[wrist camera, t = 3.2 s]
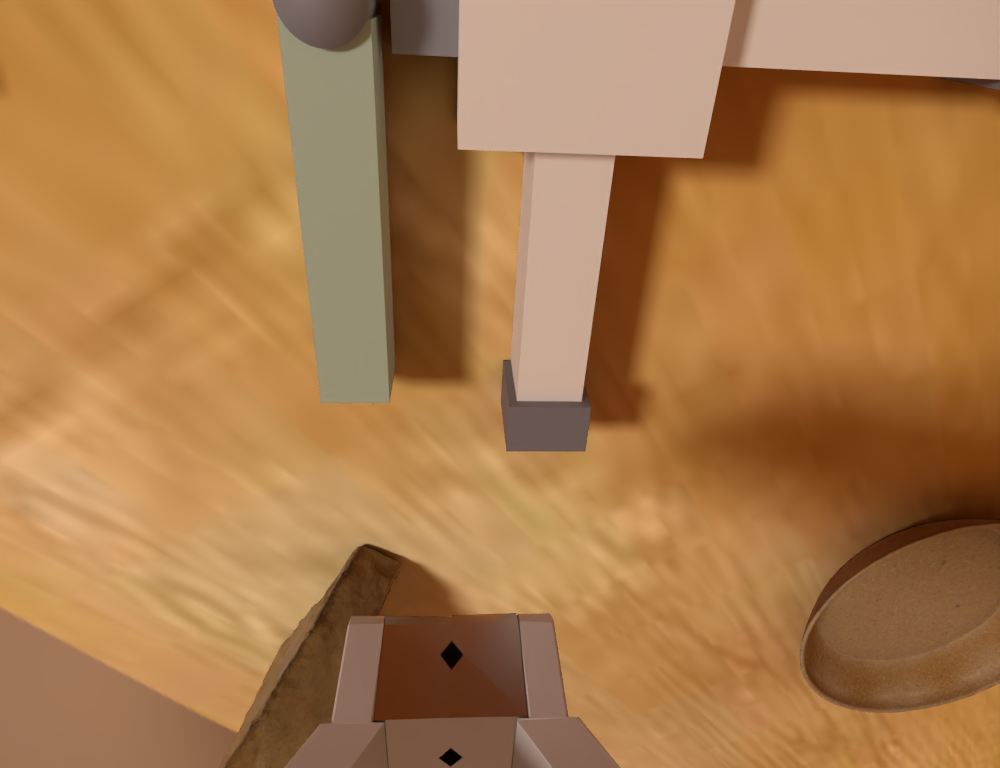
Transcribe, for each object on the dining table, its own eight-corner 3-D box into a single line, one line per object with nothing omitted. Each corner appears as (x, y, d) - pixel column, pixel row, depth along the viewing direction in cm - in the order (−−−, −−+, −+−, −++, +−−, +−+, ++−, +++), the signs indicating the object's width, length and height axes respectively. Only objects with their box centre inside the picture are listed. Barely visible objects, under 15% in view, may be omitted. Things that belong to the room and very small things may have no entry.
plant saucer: (799, 507, 32) (825, 547, 30) (1096, 471, 32) (1143, 508, 30) (765, 685, 40) (783, 727, 38) (1003, 656, 40) (1036, 696, 38)
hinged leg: (292, -59, 18) (264, -66, 16) (378, -54, 19) (365, -60, 16) (334, 362, 26) (319, 407, 23) (395, 362, 26) (388, 407, 23)
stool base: (407, 400, 27) (401, 461, 24) (365, -931, 12) (331, -1294, 8) (863, 403, 29) (918, 461, 25) (1345, -770, 13) (1648, -1024, 10)
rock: (333, 529, 28) (152, 646, 29) (415, 732, 24) (206, 856, 25) (436, 544, 37) (298, 631, 39) (505, 690, 34) (351, 781, 35)
